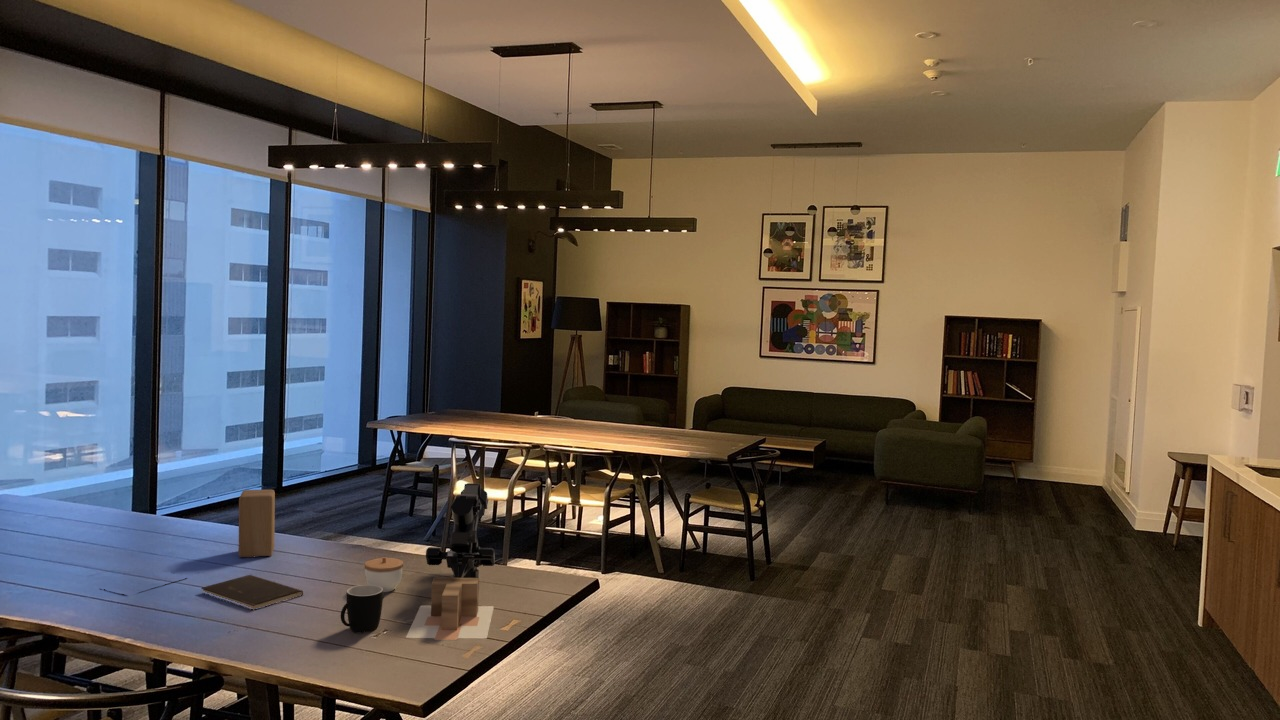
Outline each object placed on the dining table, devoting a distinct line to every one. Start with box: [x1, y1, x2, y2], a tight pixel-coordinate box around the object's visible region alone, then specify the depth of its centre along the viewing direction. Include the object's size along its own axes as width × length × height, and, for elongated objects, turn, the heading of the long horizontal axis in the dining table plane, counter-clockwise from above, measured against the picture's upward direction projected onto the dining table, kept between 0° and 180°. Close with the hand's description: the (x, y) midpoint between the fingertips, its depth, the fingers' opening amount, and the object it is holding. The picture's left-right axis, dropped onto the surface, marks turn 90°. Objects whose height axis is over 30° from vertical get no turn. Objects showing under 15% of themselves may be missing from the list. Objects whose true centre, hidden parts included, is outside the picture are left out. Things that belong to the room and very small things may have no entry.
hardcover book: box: [201, 574, 304, 609], centre depth 261 cm, size 16×23×2 cm
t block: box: [430, 577, 480, 630], centre depth 246 cm, size 15×12×9 cm
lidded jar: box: [364, 556, 404, 593], centre depth 270 cm, size 11×11×9 cm
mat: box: [405, 605, 495, 641], centre depth 244 cm, size 25×20×1 cm
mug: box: [340, 584, 384, 634], centre depth 237 cm, size 12×9×10 cm
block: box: [238, 489, 276, 558], centre depth 299 cm, size 10×10×20 cm
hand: (457, 584), depth 256 cm, fingers closed
